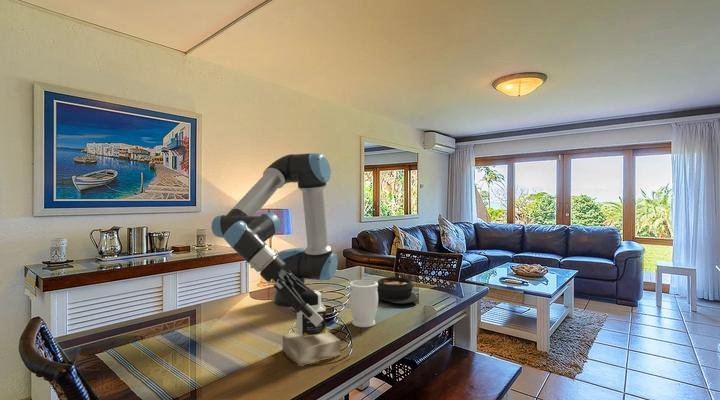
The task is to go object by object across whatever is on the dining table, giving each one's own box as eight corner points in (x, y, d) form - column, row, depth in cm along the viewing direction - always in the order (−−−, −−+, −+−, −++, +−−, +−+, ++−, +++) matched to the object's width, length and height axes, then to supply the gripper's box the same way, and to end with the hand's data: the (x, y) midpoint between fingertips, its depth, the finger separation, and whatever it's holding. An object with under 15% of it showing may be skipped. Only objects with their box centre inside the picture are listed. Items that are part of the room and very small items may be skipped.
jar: (364, 316, 139) (364, 278, 138) (384, 323, 131) (384, 282, 131) (343, 323, 131) (343, 282, 131) (363, 331, 124) (363, 288, 123)
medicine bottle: (302, 337, 102) (302, 296, 102) (296, 329, 109) (296, 289, 109) (326, 333, 105) (326, 293, 105) (319, 325, 112) (318, 287, 112)
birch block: (321, 341, 116) (321, 326, 116) (340, 357, 105) (340, 340, 105) (282, 351, 109) (282, 334, 109) (299, 368, 98) (299, 350, 98)
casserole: (364, 294, 169) (364, 276, 169) (398, 290, 177) (398, 273, 177) (389, 310, 146) (389, 289, 146) (427, 304, 154) (427, 285, 154)
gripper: (268, 265, 118) (317, 313, 118) (247, 282, 96) (307, 340, 96) (284, 249, 118) (333, 297, 118) (267, 262, 96) (327, 321, 96)
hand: (321, 317), depth 107 cm, fingers closed on medicine bottle, 9 cm apart
